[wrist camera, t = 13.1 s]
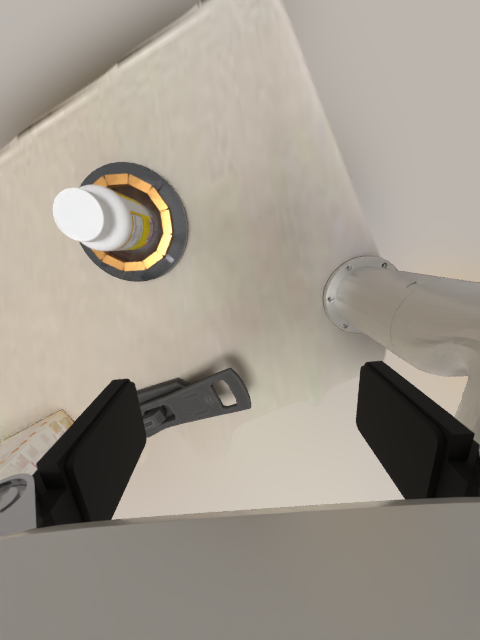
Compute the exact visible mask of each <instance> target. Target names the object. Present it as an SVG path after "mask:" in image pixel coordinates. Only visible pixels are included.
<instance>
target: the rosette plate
mask: <svg viewBox="0 0 480 640" xmlns="http://www.w3.org/2000/svg"><path fill="white" fill-rule="evenodd" d="M91 184H92V185H100V186H104V187H106V188H109V189H111V190H113V191H115V192H118V193H120V194H122V195H124V196H126V197H129V198H131V199H133V200H136V201H138V202H140V203H141V204H143V205H144V206H145V207H146V208H147V209H148V210H149V211H150V213H151V214H152V216H153V219H154V223H155V233H154V236H153V239H152V240H151V242H150V243H149V244H148V245H147V246H145V247H143V248H141V249H135V250H119V251H98V250H94V249H91V248H89V247H87V246H85V245H84V244H82V243H81V242H80V241H79V242H80V244H81V246H82V248H83V249H84V251H85V252H86V254H87V255H88V256H89V258H90V259H91V260H92V261H93V262H94V263H95V264H96V265H97V266H98V267H99V268H101V269H102V270H104V271H105V272H107V273H108V274H110V275H112V276H114V277H117V278H119V279H123V280H127V281H148V280H151V279H155V278H157V277H159V276H162V275H164V274H165V273H167V272H168V271H170V270H171V269H172V268H173V267H174V266H175V265H176V264H177V263H178V261H179V260H180V258H181V257H182V255H183V253H184V250H185V247H186V244H187V239H188V222H187V216H186V213H185V209H184V207H183V205H182V202H181V200H180V199H179V197H178V195H177V194H176V192H175V191H174V190H173V188H172V187H171V186H170V185H169V184H168V183H167V182H166V181H165V180H164V179H163V178H161V177H160V176H159V175H158V174H157V173H155V172H153V171H152V170H150V169H148V168H146V167H144V166H141V165H138V164H134V163H128V162H116V163H110V164H107V165H104V166H102V167H100V168H98V169H96V170H95V171H93V172H92V173H91V174H90V175H89V176H88V177H87V178H86V179H85V180H84V181H83V183H82V184H81V186H84V185H91ZM81 186H80V187H81Z"/></svg>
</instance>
